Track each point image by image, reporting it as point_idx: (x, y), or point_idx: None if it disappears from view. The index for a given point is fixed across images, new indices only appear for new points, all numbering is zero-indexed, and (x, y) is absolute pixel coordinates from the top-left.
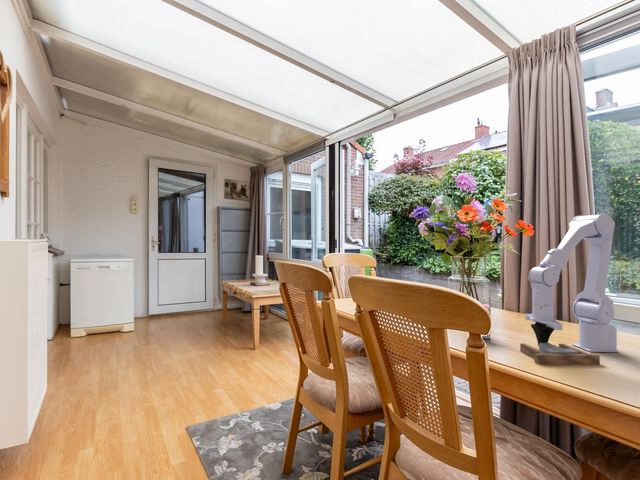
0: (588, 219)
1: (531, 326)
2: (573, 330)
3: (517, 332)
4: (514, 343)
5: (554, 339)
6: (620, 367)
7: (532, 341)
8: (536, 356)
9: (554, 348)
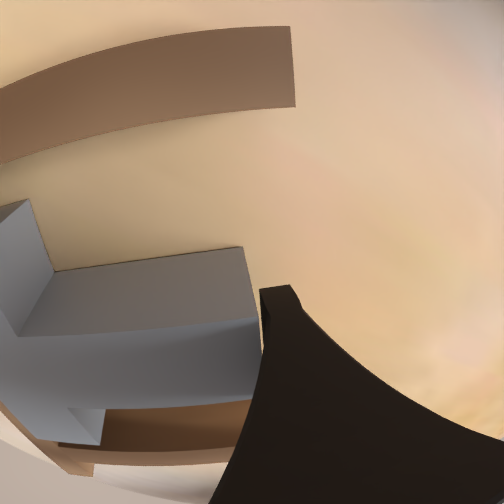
0: None
1: (498, 449)
2: None
3: None
4: (497, 162)
5: (460, 403)
6: None
7: (487, 313)
8: None
9: (32, 356)
